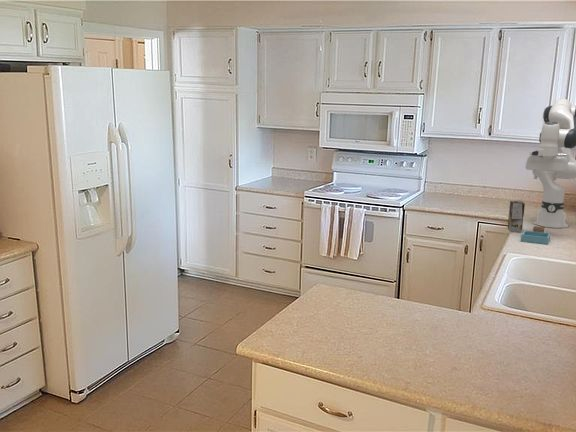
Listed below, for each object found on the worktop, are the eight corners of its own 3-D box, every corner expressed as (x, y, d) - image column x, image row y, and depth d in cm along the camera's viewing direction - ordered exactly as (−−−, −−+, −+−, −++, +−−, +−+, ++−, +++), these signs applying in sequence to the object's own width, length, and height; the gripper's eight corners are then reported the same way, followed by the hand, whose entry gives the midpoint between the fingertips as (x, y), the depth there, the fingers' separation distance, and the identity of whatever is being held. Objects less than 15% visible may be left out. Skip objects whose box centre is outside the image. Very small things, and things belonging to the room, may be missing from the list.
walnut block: (533, 235, 306) (534, 226, 305) (543, 236, 304) (544, 227, 303) (532, 236, 302) (533, 227, 301) (542, 237, 300) (543, 228, 299)
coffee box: (522, 232, 312) (525, 203, 309) (509, 231, 313) (512, 202, 310) (519, 229, 321) (521, 201, 318) (507, 228, 322) (509, 200, 319)
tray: (523, 237, 300) (524, 230, 299) (549, 240, 294) (550, 233, 293) (520, 241, 289) (521, 234, 289) (547, 244, 283) (548, 237, 283)
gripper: (570, 154, 294) (567, 180, 296) (528, 152, 304) (525, 177, 305) (569, 154, 288) (566, 181, 290) (526, 151, 298) (523, 178, 300)
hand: (545, 179), depth 298 cm, fingers open, 8 cm apart
